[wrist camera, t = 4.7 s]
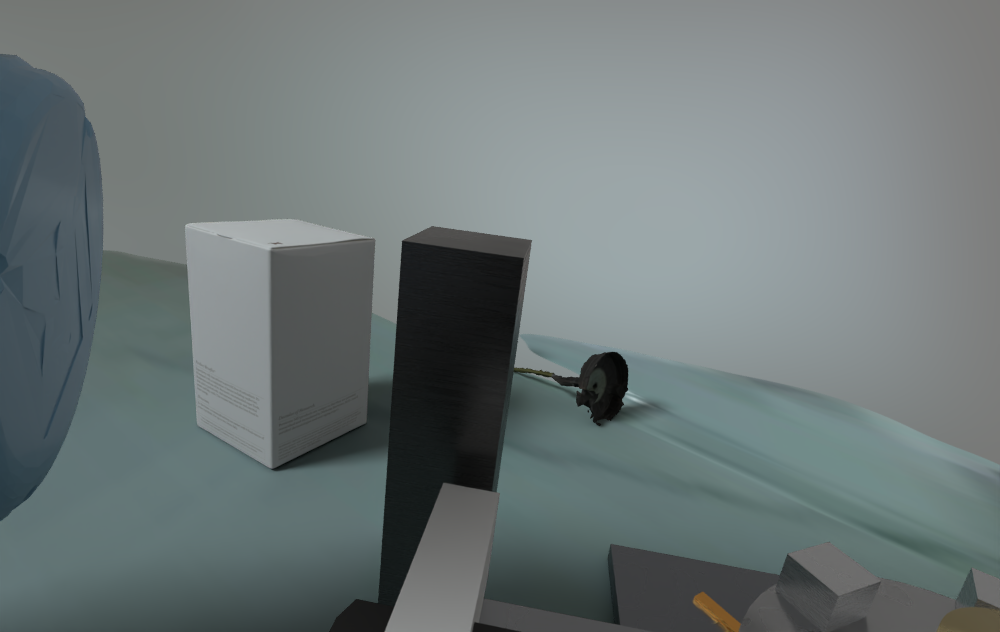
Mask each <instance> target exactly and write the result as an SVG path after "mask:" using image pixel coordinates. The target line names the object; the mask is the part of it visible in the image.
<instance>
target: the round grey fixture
mask: <svg viewBox="0 0 1000 632" xmlns="http://www.w3.org/2000/svg"><path fill="white" fill-rule="evenodd" d="M531 242H532V240H526V239H519V238H512V237H505V236H498V235H490V234H484V233H477V232H469V231H462V230H455V229H448V228H441V227H434V226H432V227H430V228H428V229H426V230H423V231H421V232H420V233H417V234H415V235H413V236H411V237H409V238H407V239H405V240H403V241H402V253H401V267H400V282H399V298H398V312H397V327H396V342H395V357H394V372H393V387H392V403H391V418H390V433H389V448H388V463H387V478H386V493H385V508H384V523H383V538H382V553H381V568H380V583H379V598H378V604H383V605H387V606H392V607H395V604H396V602H397V599H398V597H399V594H400V592H401V589H402V587H403V584H404V581H405V579H406V576H407V574H408V571H409V569H410V566H411V564H412V561H413V559H414V556H415V554H416V551H417V549H418V546H419V543H420V541H421V538H422V536H423V533H424V531H425V528H426V526H427V523H428V521H429V518H430V516H431V513H432V510H433V508H434V505H435V503H436V500H437V498H438V495H439V493H440V490H441V488H442V485H443V483H448V484H453V485H458V486H464V487H469V488H475V489H480V490H485V491H491V492H496V493H497V486H498V478H499V471H500V464H501V457H502V450H503V443H504V435H505V428H506V421H507V414H508V407H509V400H510V392H511V385H512V378H513V371H514V364H515V357H516V349H517V342H518V335H519V328H520V321H521V314H522V307H523V299H524V292H525V285H526V278H527V271H528V264H529V257H530V249H531ZM966 607H981V608H989V609H995V610H1000V579H998V578H996V577H993V576H991V575H988V574H986V573H984V572H981V571H979V570H976V569H974V568H971V570H970V572H969V574H968V576H967V578H966V580H965V582H964V585H963V587H962V589H961V591H960V593H959V595H958V597H957V599H956V600H954V599H951V598H948V597H946V596H943V595H940V594H937V593H934V592H932V591H928V590H925V589H922V588H918V587H915V586H911V585H908V584H905V583H901V582H896V581H892V580H887V579H883V578H878V577H875V576H874V575H873V574H871V573H870V572H869V571H867V570H866V569H865V568H863V567H862V566H861V565H859V564H858V563H857V562H855V561H854V560H853V559H851V558H850V557H848V556H847V555H846V554H844V553H843V552H842V551H840V550H839V549H838V548H836V547H835V546H834V545H832V544H831V543H830V542H827V543H824V544H820V545H817V546H813V547H810V548H806V549H803V550H799V551H795V552H792V553H788V554H787V557H786V559H785V562H784V565H783V568H782V571H781V574H780V577H779V580H778V583H777V584H775V585H773V586H772V587H770V588H769V589H768V590H766V591H765V592H763V593H762V594H760V596H759V597H758V598H757V599H756V600H755V601H754V602H753V604H752V605H751V606H750V607H749V609H748V611H747V613H746V615H745V617H744V618H743V620H742V622H741V625H740V628H739V631H738V632H936V631H937V629H938V626H939V624H940V622H941V620H942V619H943V617H944V616H945V615H946V614H947V613H949V612H951V611H952V610H956V609H959V608H966ZM479 623H482V624H487V625H492V626H496V627H501V628H506V629H511V630H516V631H521V632H652V631H647V630H642V629H637V628H632V627H627V626H621V625H616V624H611V623H606V622H601V621H596V620H591V619H586V618H581V617H576V616H571V615H566V614H561V613H555V612H550V611H545V610H540V609H535V608H530V607H525V606H520V605H515V604H510V603H505V602H500V601H495V600H489V599H483V604H482V609H481V614H480V619H479Z"/></svg>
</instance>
